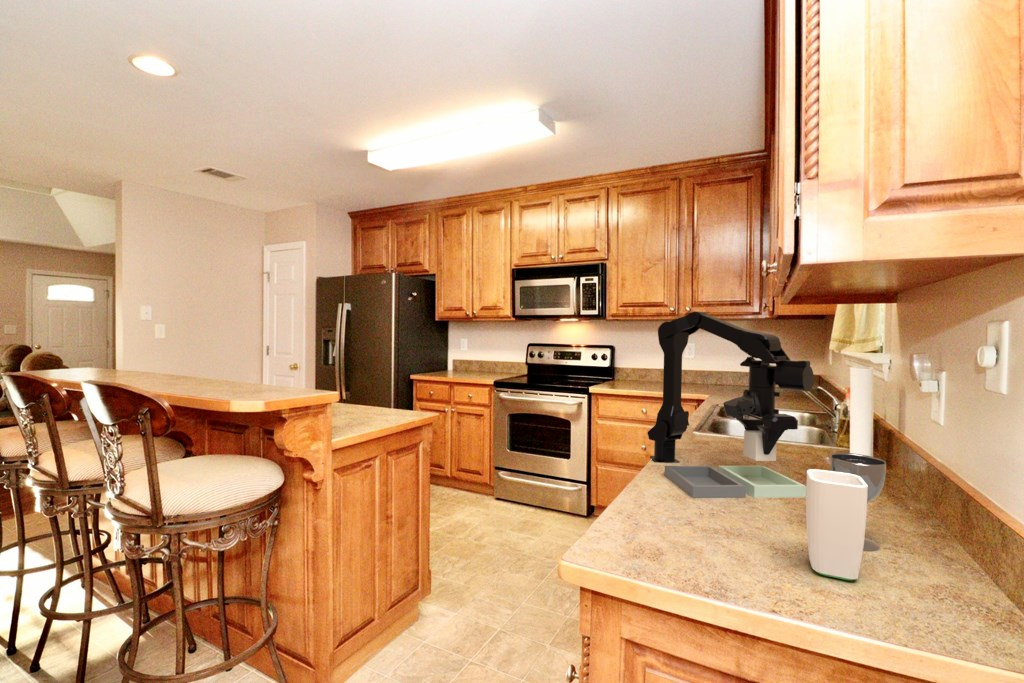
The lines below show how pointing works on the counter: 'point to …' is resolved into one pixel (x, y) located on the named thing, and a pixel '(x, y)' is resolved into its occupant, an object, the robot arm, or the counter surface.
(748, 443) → the stone block
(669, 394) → the robot arm
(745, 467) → the bin
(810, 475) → the cup
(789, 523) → the counter surface
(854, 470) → the wine glass
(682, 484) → the bin
